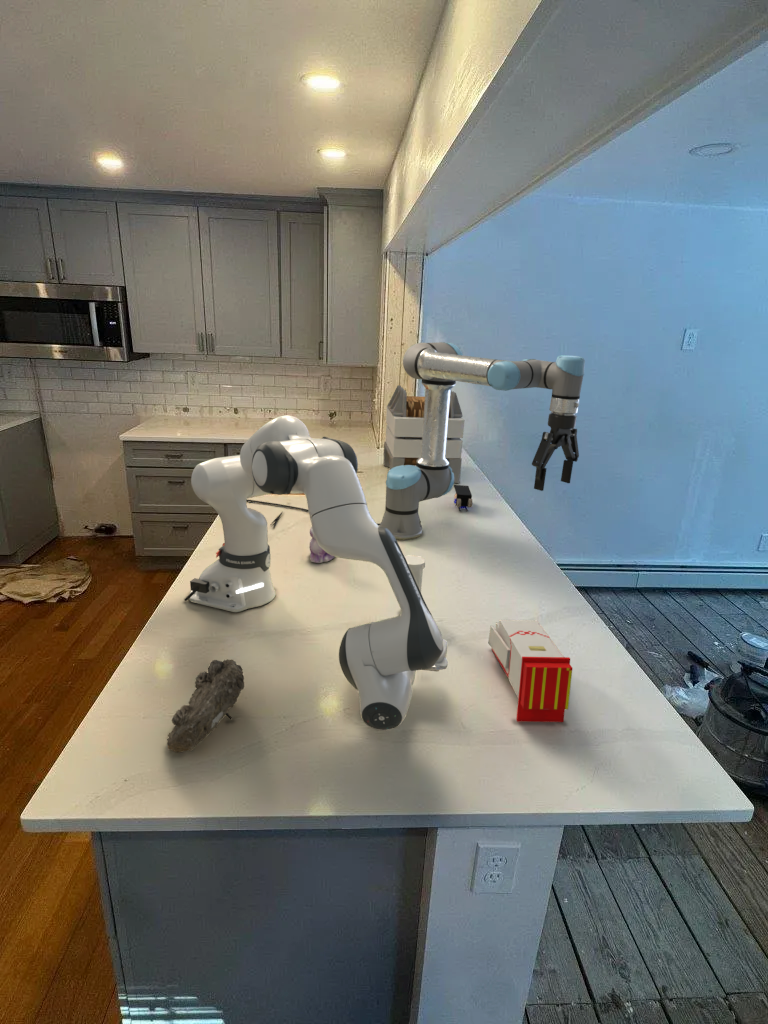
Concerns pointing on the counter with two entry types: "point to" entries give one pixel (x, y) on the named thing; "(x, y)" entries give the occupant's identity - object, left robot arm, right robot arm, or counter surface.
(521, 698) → the toy
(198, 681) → the fossil
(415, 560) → the lid
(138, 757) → the counter surface
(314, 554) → the figurine
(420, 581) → the jar
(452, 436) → the transformer
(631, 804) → the counter surface
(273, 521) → the feather
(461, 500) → the figurine character
